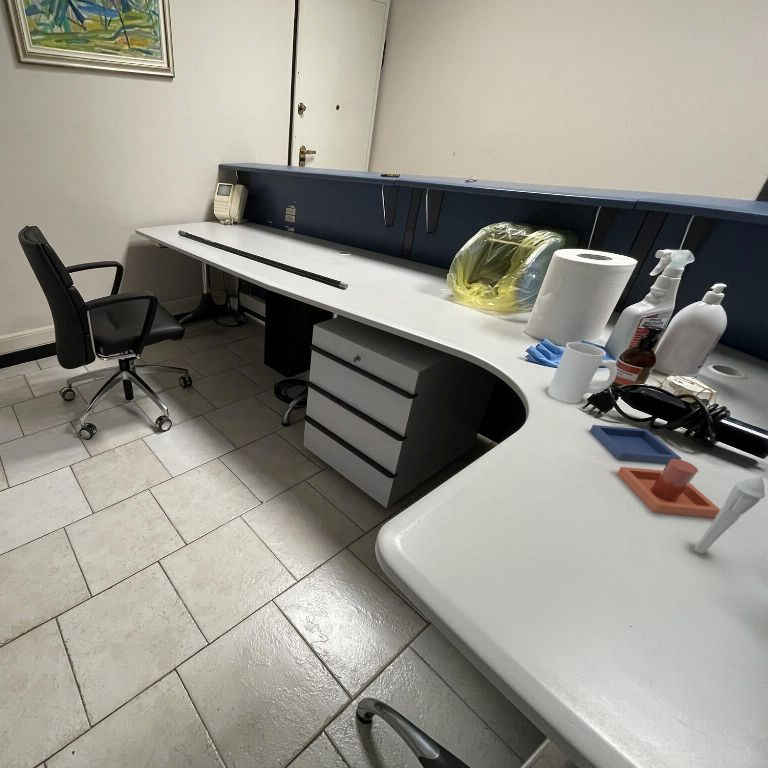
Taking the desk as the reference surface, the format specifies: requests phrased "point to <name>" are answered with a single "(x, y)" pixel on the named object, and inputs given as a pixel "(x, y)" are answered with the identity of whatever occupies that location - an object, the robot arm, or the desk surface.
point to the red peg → (673, 480)
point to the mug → (579, 372)
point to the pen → (733, 510)
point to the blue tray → (633, 444)
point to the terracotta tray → (686, 504)
